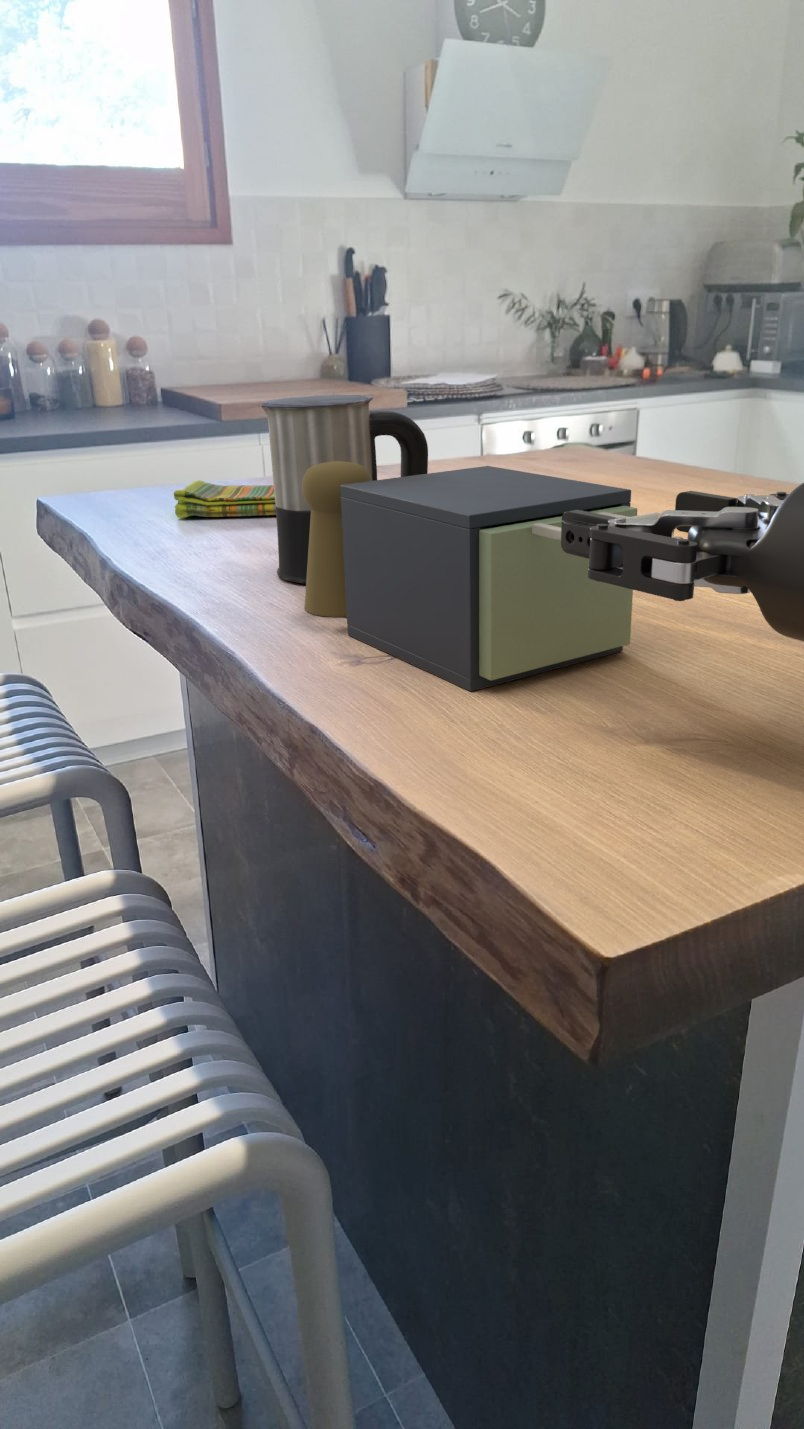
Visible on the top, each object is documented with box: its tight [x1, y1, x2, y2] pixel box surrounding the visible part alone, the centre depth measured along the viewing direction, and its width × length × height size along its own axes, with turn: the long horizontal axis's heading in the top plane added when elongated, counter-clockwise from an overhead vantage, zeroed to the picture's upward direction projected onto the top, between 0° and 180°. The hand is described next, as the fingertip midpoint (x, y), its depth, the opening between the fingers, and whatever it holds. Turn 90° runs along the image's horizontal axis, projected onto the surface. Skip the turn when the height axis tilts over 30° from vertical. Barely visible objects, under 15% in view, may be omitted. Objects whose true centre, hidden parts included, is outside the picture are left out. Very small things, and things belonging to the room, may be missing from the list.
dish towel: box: [173, 479, 276, 519], centre depth 122 cm, size 15×36×3 cm, turn 91°
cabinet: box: [340, 465, 632, 692], centre depth 68 cm, size 15×13×11 cm
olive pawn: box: [302, 461, 371, 618], centre depth 78 cm, size 6×6×11 cm
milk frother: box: [260, 394, 429, 585], centre depth 91 cm, size 14×16×15 cm
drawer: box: [479, 506, 661, 680], centre depth 64 cm, size 18×11×9 cm, turn 33°
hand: (624, 519), depth 56 cm, fingers open, 8 cm apart
